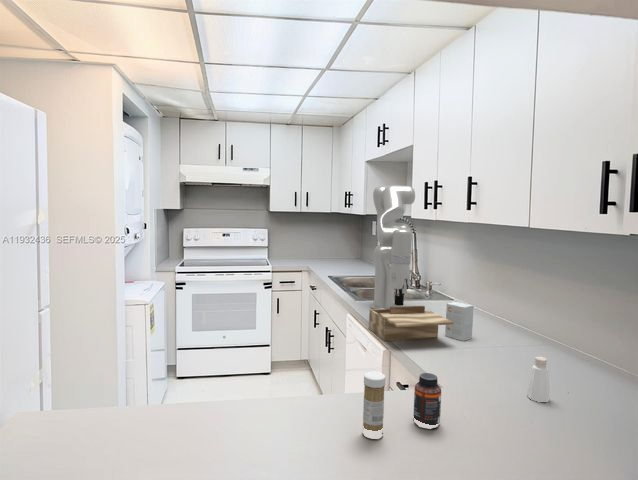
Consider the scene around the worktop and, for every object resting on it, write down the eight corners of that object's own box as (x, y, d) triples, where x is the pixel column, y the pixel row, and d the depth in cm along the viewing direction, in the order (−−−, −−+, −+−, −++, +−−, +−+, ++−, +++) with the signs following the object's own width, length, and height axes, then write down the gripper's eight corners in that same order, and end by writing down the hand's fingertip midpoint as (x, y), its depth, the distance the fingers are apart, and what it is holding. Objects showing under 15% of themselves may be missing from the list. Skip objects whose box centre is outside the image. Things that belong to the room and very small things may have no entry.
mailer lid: (379, 315, 158) (379, 306, 158) (430, 313, 164) (431, 304, 164) (396, 327, 143) (397, 317, 143) (453, 324, 148) (453, 315, 148)
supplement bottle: (445, 427, 94) (448, 378, 93) (426, 433, 91) (428, 383, 90) (426, 415, 99) (428, 369, 98) (407, 420, 96) (409, 373, 95)
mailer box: (368, 328, 169) (369, 309, 168) (417, 326, 174) (418, 307, 173) (384, 341, 153) (385, 320, 153) (437, 338, 159) (438, 317, 158)
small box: (472, 338, 160) (474, 305, 159) (463, 341, 156) (465, 307, 155) (453, 333, 166) (455, 301, 165) (444, 335, 162) (446, 303, 161)
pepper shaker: (522, 395, 111) (524, 355, 110) (537, 392, 113) (539, 353, 112) (539, 404, 106) (542, 362, 105) (554, 401, 108) (557, 360, 107)
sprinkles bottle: (381, 429, 92) (383, 371, 91) (384, 441, 87) (387, 379, 86) (360, 429, 92) (363, 370, 91) (362, 440, 87) (365, 378, 86)
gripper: (384, 257, 172) (382, 300, 173) (400, 263, 157) (398, 310, 159) (401, 257, 173) (399, 300, 175) (418, 262, 159) (416, 309, 161)
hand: (398, 304), depth 167 cm, fingers closed
